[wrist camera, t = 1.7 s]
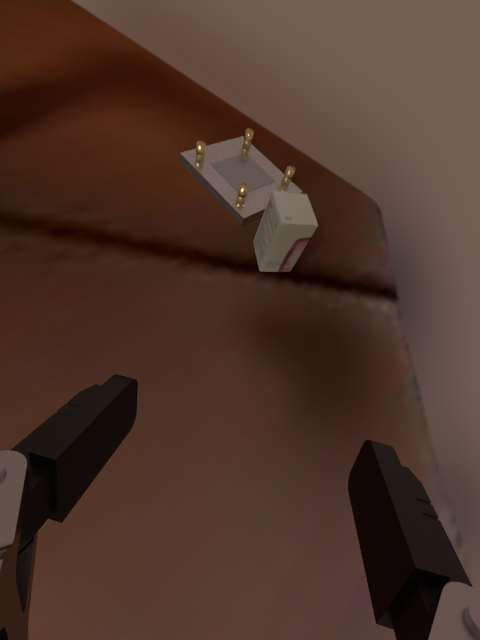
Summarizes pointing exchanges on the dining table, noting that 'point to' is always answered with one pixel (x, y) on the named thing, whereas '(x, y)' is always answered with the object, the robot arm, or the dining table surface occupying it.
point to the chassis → (238, 175)
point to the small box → (284, 231)
